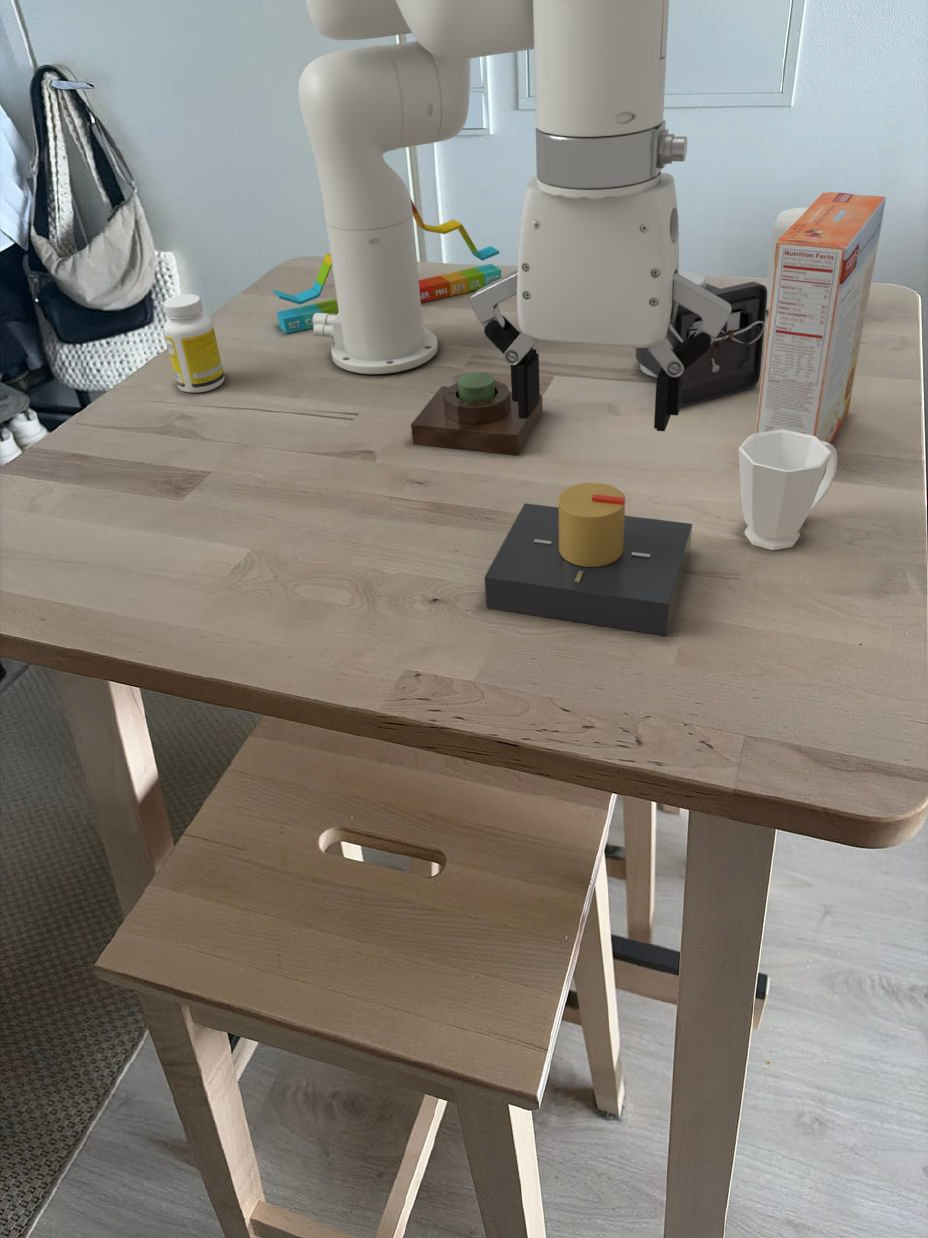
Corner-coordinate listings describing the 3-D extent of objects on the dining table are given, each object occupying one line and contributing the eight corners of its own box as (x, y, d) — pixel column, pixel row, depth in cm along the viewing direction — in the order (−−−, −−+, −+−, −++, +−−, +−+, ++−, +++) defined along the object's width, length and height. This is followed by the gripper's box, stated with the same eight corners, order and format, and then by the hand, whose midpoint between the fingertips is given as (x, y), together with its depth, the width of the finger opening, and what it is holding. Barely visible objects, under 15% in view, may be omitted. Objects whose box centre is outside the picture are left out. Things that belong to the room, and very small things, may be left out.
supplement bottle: (233, 376, 116) (215, 292, 110) (210, 396, 112) (190, 310, 106) (193, 372, 117) (173, 289, 111) (168, 391, 113) (146, 307, 107)
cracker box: (788, 405, 101) (821, 188, 88) (849, 415, 98) (892, 194, 86) (744, 467, 92) (774, 235, 79) (810, 481, 89) (852, 243, 76)
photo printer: (848, 326, 116) (867, 215, 108) (821, 335, 114) (840, 224, 107) (782, 301, 123) (796, 196, 115) (756, 310, 121) (769, 204, 114)
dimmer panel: (486, 608, 77) (483, 575, 76) (525, 532, 86) (524, 501, 84) (666, 636, 73) (668, 602, 71) (689, 554, 81) (692, 521, 80)
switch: (453, 402, 98) (452, 385, 97) (465, 386, 101) (464, 370, 100) (488, 405, 97) (487, 388, 96) (499, 389, 100) (498, 373, 99)
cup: (710, 532, 84) (719, 446, 79) (793, 493, 88) (806, 409, 83) (774, 569, 79) (788, 481, 74) (858, 526, 83) (877, 439, 78)
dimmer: (551, 562, 76) (551, 508, 74) (567, 527, 80) (567, 475, 77) (615, 571, 75) (617, 517, 72) (629, 535, 79) (631, 482, 76)
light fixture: (693, 352, 114) (697, 255, 108) (764, 389, 104) (773, 284, 98) (609, 372, 111) (609, 274, 105) (674, 412, 101) (678, 306, 95)
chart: (286, 334, 125) (264, 210, 116) (279, 326, 127) (256, 203, 118) (502, 284, 134) (497, 165, 125) (491, 277, 136) (486, 160, 127)
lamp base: (412, 444, 100) (408, 407, 97) (443, 404, 106) (440, 369, 104) (518, 455, 96) (516, 417, 94) (542, 414, 103) (542, 377, 101)
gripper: (752, 143, 60) (726, 403, 71) (482, 141, 65) (494, 385, 76) (737, 175, 55) (711, 453, 65) (443, 171, 60) (462, 429, 70)
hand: (594, 416), depth 70 cm, fingers open, 9 cm apart
